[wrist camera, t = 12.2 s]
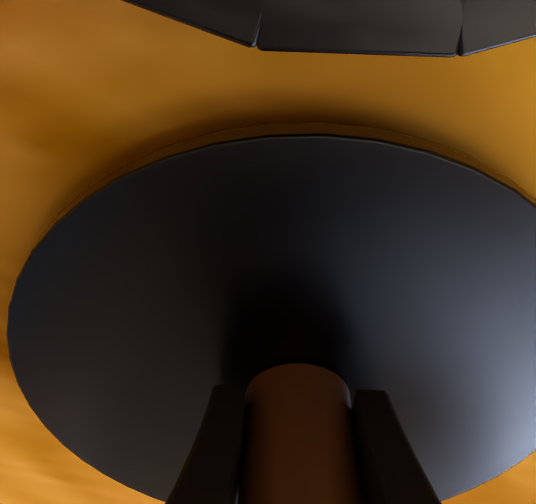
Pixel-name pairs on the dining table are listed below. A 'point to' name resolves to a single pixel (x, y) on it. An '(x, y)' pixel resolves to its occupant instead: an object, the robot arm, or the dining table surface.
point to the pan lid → (286, 310)
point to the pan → (358, 24)
